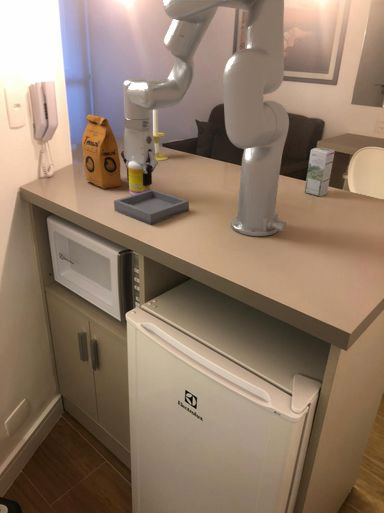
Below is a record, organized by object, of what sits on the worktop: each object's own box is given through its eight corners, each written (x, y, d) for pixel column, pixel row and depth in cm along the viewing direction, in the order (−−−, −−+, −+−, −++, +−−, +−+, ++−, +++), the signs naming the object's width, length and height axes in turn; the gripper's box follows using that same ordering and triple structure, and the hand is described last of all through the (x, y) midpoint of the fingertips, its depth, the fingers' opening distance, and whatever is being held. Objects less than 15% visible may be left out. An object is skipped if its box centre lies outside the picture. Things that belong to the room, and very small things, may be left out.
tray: (188, 210, 120) (188, 201, 119) (150, 225, 110) (150, 214, 109) (152, 198, 129) (152, 189, 128) (114, 210, 119) (113, 200, 118)
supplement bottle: (146, 197, 130) (145, 156, 124) (126, 195, 131) (124, 154, 125) (152, 191, 135) (152, 151, 130) (133, 189, 137) (131, 150, 131)
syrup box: (327, 193, 138) (335, 149, 132) (319, 197, 134) (327, 152, 128) (312, 189, 142) (319, 146, 135) (303, 193, 138) (310, 149, 131)
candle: (158, 154, 181) (157, 87, 169) (172, 158, 175) (173, 90, 162) (139, 157, 175) (137, 88, 163) (154, 162, 169) (152, 91, 156)
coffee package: (99, 191, 134) (93, 120, 124) (82, 181, 143) (75, 114, 133) (125, 186, 140) (122, 117, 130) (108, 177, 148) (103, 112, 138)
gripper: (167, 126, 121) (167, 186, 129) (128, 119, 131) (130, 174, 139) (148, 129, 116) (149, 191, 124) (109, 121, 126) (112, 179, 134)
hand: (139, 182), depth 131 cm, fingers closed on supplement bottle, 6 cm apart
